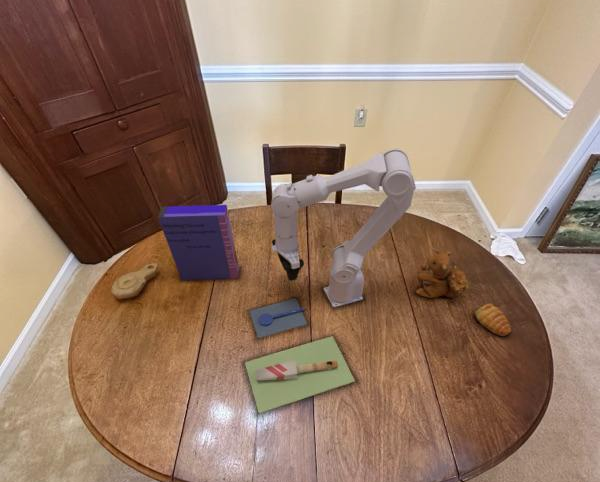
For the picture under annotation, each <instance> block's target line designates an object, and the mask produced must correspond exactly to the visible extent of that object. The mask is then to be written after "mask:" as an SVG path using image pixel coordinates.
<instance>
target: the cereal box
mask: <svg viewBox="0 0 600 482" xmlns="http://www.w3.org/2000/svg"><path fill="white" fill-rule="evenodd" d="M157 219H158V222H159V224H160V226H161V229H162V232H163V234H164V237H165V240H166V243H167V245H168V248H169V250H170V253H171V256H172V259H173V261H174V264H175V267H176V270H177V271H178V274H179V277H180V281H205V280H207V281H208V280H226V279H238V277H239V271H240V266H239V265H240V264H239V260H238V256H237V251H236V245H235V240H234V236H233V230H232V224H231V220H230V214H229V209H228V205H227V204H204V205H203V204H202V205H198V204H197V205H168V206H167V205H166V206H161V208H160V210H159V212H158V215H157Z"/></svg>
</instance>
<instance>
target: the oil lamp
mask: <svg viewBox="0 0 600 482" xmlns="http://www.w3.org/2000/svg"><path fill="white" fill-rule="evenodd" d="M158 269H159V265H158V264H157V263H149V264H147V263H146V264H144V265H143V267H142V268H140V270H137V271H129V272H128V273H126V274H122V275H121V276H119V277H118V278H117V279H115V281H114V282H113V284H112V286H111V293H112V295H113V296H114V297H115V298H116V299H117V300H119V299H120V300H123V299H131V298H135V297H137V296H138V295H139V294H140V293H141V291H142V289H143V288H144V286H146V284H147V281H149V280H150V279H153V278H154V277H155V276H156V274H157V272H158Z"/></svg>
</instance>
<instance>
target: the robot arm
mask: <svg viewBox="0 0 600 482" xmlns="http://www.w3.org/2000/svg"><path fill="white" fill-rule="evenodd" d="M364 185H366V186H368V187H369V188H371V189H373V190H374V191H376V192H380V187H381V189H382V191H383V192H384V194H385V195H386V198H385V199H384V200H383V201H382V202H381V203H380V205H379V206H378V207H377V208H376V209H375V211H374V212H373V213H372V214H371V215H370V217H369V218H368V219H367V220H366V222H365V223H363V224H362V226H361V227H360V229H358V231H357V232H356V233H355V234H354V235H353V237H352V238H351V239H350V240H344V242H343V243H341V244H340V245H338V246H336V247H335V248H334V249H333V250H332V252H331V256H332V266H331V268H330V270H329V281H328V286H324V287H323V291H324V293H325V295H326V296H327V298H328V300H329V302H330V304H331V306H332V308H338V307H341V306H344V305H348V304H352V303H356V302H359V301H362V300H363V299H364V297H363V293H364V286H365V277H364V273H363V271H362V270H361V268H362V264H363V261H364V259H365V256H366V255H367V254H368V253H369V252H370V251H371V250H372V249H373V247H375V245H376V244H377V243H378V242H379V241H380V240H381V239H382V238H383V237H384V236H385V235H386V234H387V233H388V231H389V230H390V229H391V228H392V227H393V226H394V225H395V224H396V223H397V222H398V221H399V220H400V219H401V217H402V216H403V215H404V214H405V213H406V212H407V211H408V210H409V209H410V207H411V206H412V201H413V196H414V192H415V190H416V189H417V186H416V183H415V178H414V175H413V173H412V170H411V164H410V160H409V158H408V155H407V154H406V152H405V151H404V150H403V149H399V148H391V149H389V150H387V151H384V152H380V153H376V154H375V155H373V156H372V157H370V158H369V159H367V160H365V161H363V162H361V163H358V164H356V165H353V166H351V167H349V168H346V169H344V170H341V171H339V172H337V173H334V174H332V175H329V176H327V177H325V176H323V175H320V174H316V175H313V174H309V175H306V178H305V179H302V180H300V181H299V180H298V181H296V182H293V183H292V182H290V183H281V184H278V185H276V187H275V188H274V190H273V193H272V198H271V202H270V210H271V212H272V213H273V225H274V226H273V227H274V239H272V240H271V244H272V246H271V250H272V252H273V253H277V256H278V259H279V261H280V263H281V267H282V268H283V270H284V272H285V273H286V277H287V279H288V281H289V282H292V281H296V280H297V279H298V276H299V273H300V271H301V269H302V268H303V267H304V266H305V261H304V260H303V258H299V254H300V253H299V252H300V251H299V249H300V246H299V245H300V244H299V236H298V235H299V234H298V232H299V231H298V214H297V211H299V210H300V209H303V208H307V207H308V206H312V205H314V204H317V203H321V202H324V201H327V199H328V197H329V196H330V194H332V193H336V192H340V191H344V190H348V189H351V188H355V187H360V186H364Z"/></svg>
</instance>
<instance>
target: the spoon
mask: <svg viewBox="0 0 600 482" xmlns="http://www.w3.org/2000/svg"><path fill="white" fill-rule="evenodd" d="M305 310H306V308H305V307H304V306H303V307H300V308H298V309H295V310H291V311H288V312H284V313H280V314H277V315H273V316H272V315H270V314H268V313H264V314H261V315H260V316H259V318H258V321H259V324H260V325H262V326H269V325H270V324H272V322H273V319H276V318H279V317H283V316H286V315H290V314H294V313H297V312H301V311H302V312H303V311H305Z"/></svg>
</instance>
